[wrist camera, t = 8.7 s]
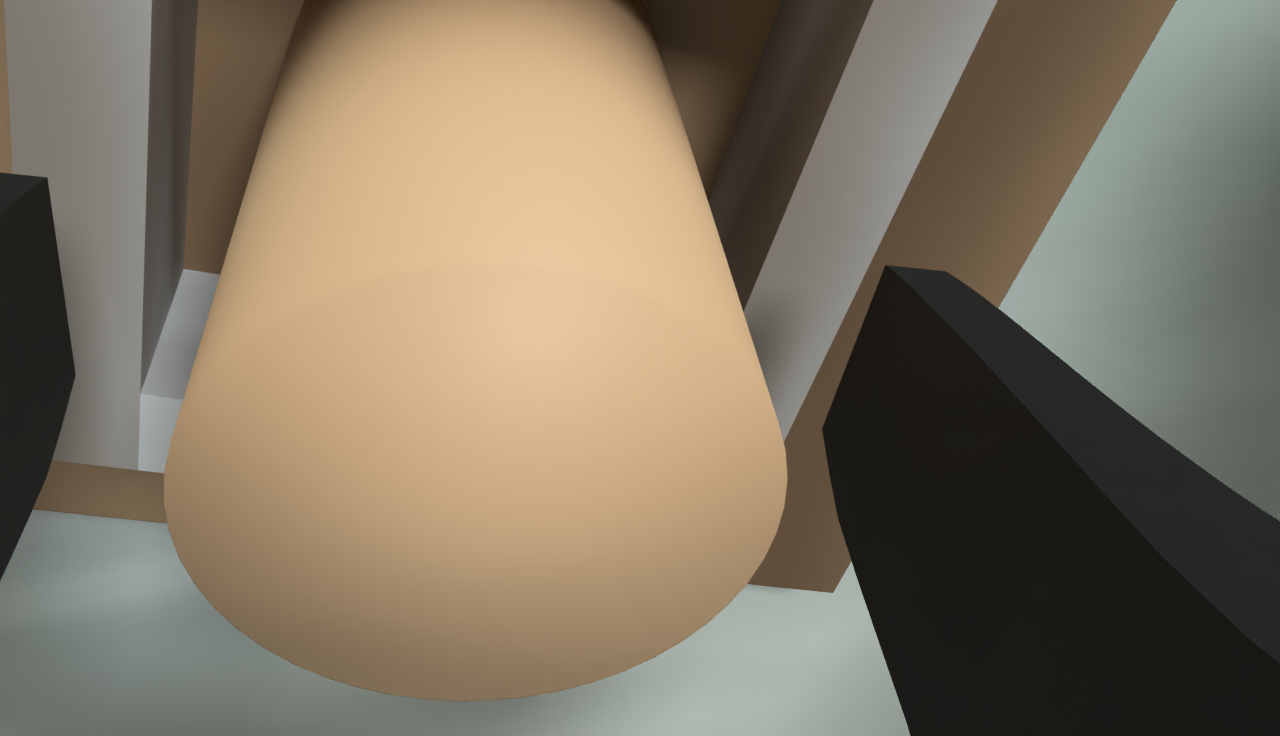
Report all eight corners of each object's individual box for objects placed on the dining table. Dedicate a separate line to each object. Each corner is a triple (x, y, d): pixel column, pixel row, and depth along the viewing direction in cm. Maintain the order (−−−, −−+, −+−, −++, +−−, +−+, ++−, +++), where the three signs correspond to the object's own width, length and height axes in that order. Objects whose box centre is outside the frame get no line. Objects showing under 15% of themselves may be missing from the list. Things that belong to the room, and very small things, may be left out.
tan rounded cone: (697, -63, 13) (867, 298, 7) (625, 263, 15) (709, 705, 10) (290, -130, 12) (140, 226, 6) (287, 229, 14) (179, 695, 9)
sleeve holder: (1386, -478, 12) (1656, -454, 9) (819, 550, 21) (870, 713, 18) (-470, -1291, 8) (-978, -1685, 5) (-159, 439, 17) (-277, 626, 14)
